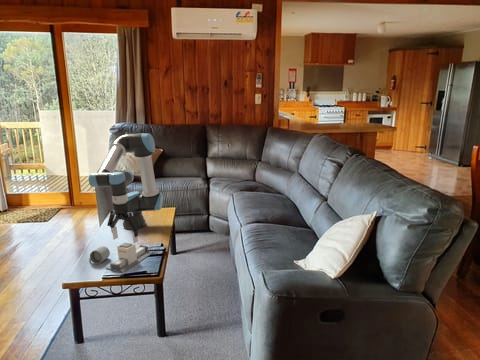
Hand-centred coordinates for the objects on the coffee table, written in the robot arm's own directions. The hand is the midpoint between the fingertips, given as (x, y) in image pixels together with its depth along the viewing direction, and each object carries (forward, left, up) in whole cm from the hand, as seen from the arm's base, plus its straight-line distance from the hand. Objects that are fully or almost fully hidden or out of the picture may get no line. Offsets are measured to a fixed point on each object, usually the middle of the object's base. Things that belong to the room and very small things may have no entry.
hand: (125, 240), depth 184 cm
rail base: (-2, 0, -12) cm, 12 cm away
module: (0, 0, -12) cm, 12 cm away
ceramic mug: (+5, -16, -13) cm, 21 cm away
